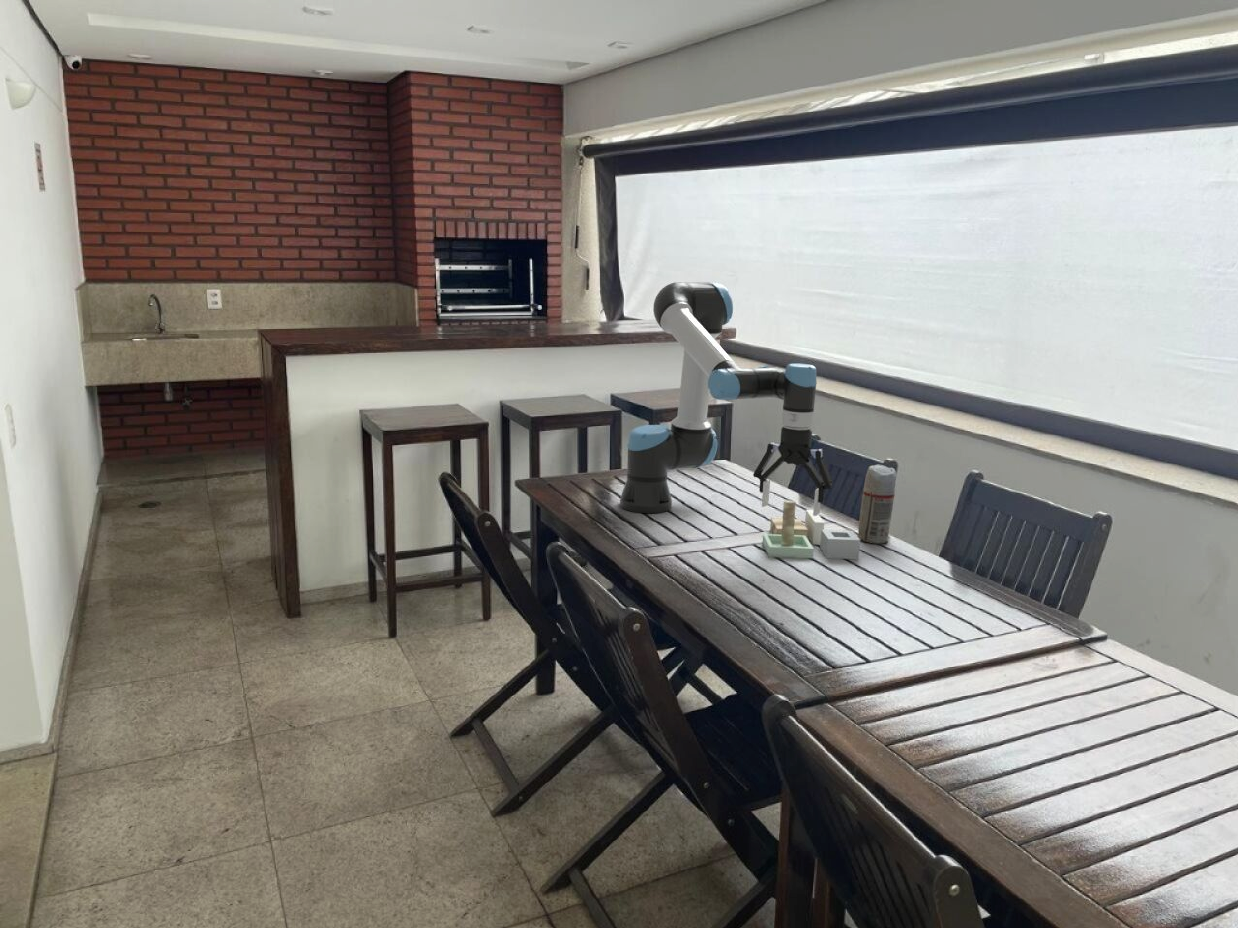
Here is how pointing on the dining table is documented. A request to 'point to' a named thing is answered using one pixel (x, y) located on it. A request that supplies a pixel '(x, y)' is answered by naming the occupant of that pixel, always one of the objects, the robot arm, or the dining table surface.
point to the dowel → (788, 523)
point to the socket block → (840, 544)
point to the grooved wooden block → (777, 527)
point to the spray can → (877, 504)
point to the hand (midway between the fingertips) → (790, 510)
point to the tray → (798, 550)
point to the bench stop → (814, 527)
